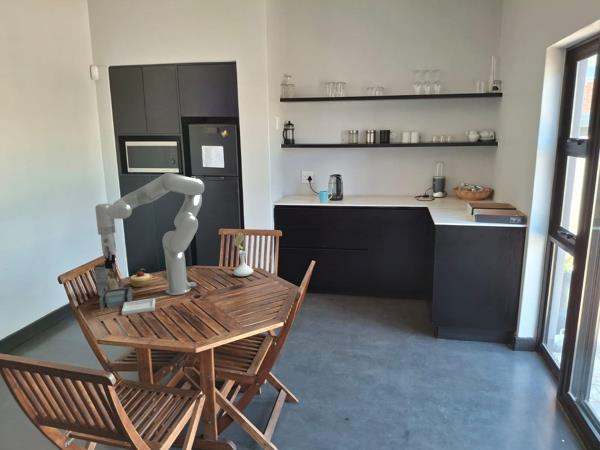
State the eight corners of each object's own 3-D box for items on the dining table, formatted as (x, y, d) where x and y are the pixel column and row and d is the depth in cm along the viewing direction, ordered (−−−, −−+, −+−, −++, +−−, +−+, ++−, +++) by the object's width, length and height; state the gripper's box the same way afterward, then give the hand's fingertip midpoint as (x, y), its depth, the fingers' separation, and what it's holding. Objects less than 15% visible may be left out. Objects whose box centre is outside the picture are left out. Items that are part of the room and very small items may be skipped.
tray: (155, 302, 217) (155, 298, 217) (154, 311, 206) (154, 306, 205) (124, 306, 213) (124, 302, 213) (122, 315, 202) (121, 311, 202)
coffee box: (108, 289, 239) (104, 260, 235) (119, 290, 237) (115, 260, 234) (97, 295, 230) (93, 265, 227) (109, 296, 228) (104, 266, 225)
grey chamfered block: (126, 301, 220) (124, 290, 218) (125, 305, 215) (123, 293, 214) (108, 304, 217) (107, 292, 216) (107, 307, 213) (105, 295, 212)
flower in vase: (232, 273, 258) (229, 230, 253) (252, 270, 260) (249, 228, 255) (234, 279, 245) (231, 235, 240) (255, 277, 248) (252, 233, 243)
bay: (133, 296, 227) (131, 286, 226) (130, 305, 214) (129, 295, 213) (104, 300, 223) (103, 290, 222) (100, 309, 210) (99, 299, 209)
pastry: (126, 288, 241) (123, 272, 240) (141, 281, 252) (138, 265, 250) (143, 289, 237) (140, 273, 235) (158, 282, 247) (155, 266, 245)
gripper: (112, 233, 202) (116, 269, 205) (117, 226, 218) (120, 260, 221) (94, 234, 200) (99, 271, 203) (100, 227, 216) (104, 261, 219)
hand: (110, 265), depth 212 cm, fingers open, 9 cm apart
